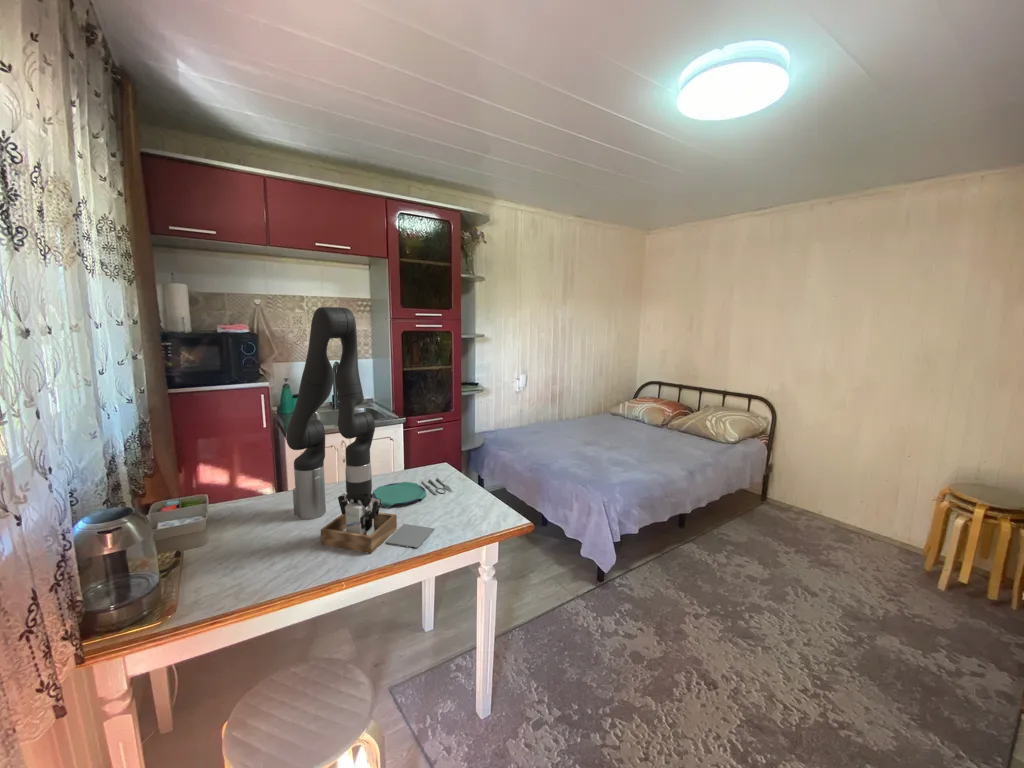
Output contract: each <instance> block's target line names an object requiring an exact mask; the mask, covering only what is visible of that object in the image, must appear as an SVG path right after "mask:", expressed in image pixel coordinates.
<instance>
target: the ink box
mask: <svg viewBox="0 0 1024 768" xmlns="http://www.w3.org/2000/svg"><path fill="white" fill-rule="evenodd" d="M370 504H371V507H373V506H372V502H370ZM367 508H368V506H367V507H366V508H365V509H367ZM371 510H372V509H371ZM345 511H346V529H345V532H350V533H357V534H363V535H369V536H370V535H371V534H372V533H374V532H375V527H374V519H372V527H371V529H369V530H368V531H366V530H365V520H366V519H365V514H364V512H363V505H359V504H358V503H354V504H351V503H349V502H348V504H347V505H346V507H345Z"/></svg>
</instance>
